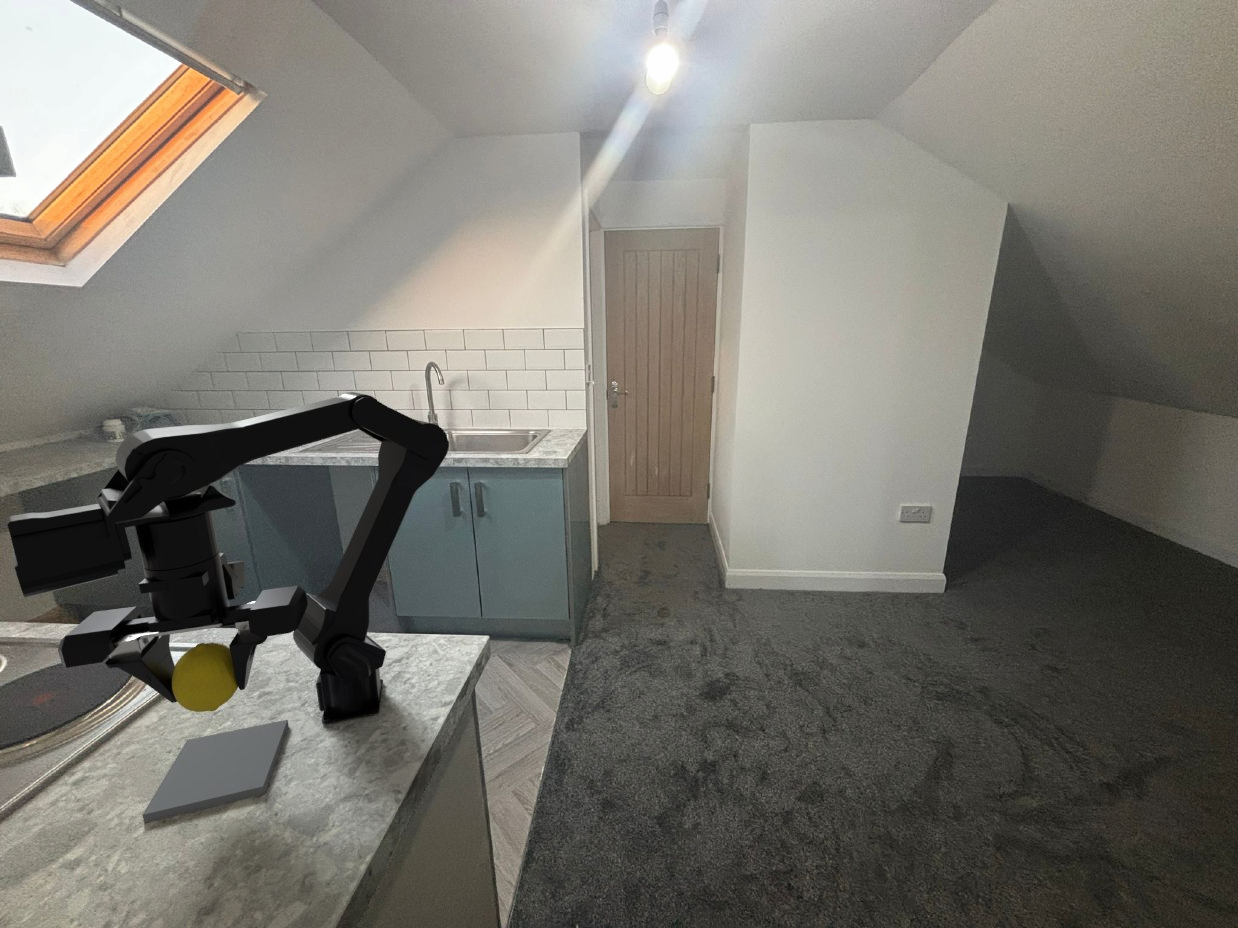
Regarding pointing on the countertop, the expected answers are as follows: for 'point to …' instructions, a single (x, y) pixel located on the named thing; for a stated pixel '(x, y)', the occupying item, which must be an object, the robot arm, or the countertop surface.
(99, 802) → the countertop surface
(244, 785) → the mat
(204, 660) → the lemon
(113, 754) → the countertop surface
